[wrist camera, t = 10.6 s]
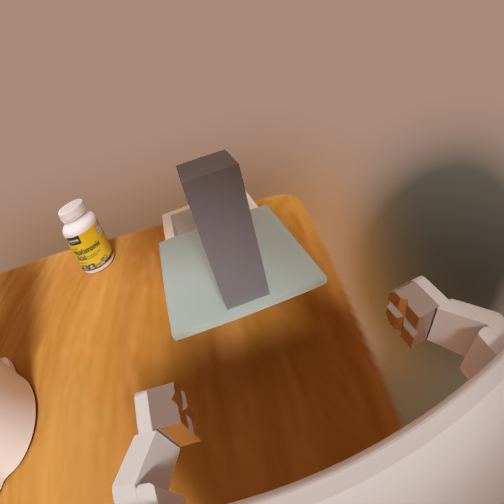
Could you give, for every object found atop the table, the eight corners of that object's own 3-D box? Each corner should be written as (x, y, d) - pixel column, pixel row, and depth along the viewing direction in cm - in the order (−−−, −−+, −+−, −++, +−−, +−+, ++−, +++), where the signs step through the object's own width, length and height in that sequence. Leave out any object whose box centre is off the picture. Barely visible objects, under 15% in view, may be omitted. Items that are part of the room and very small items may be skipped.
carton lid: (327, 283, 21) (314, 145, 15) (175, 341, 20) (106, 215, 14) (267, 209, 31) (246, 113, 25) (161, 247, 29) (122, 154, 23)
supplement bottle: (82, 279, 39) (49, 222, 33) (86, 259, 43) (57, 205, 38) (115, 266, 40) (83, 206, 34) (116, 246, 44) (89, 190, 38)
